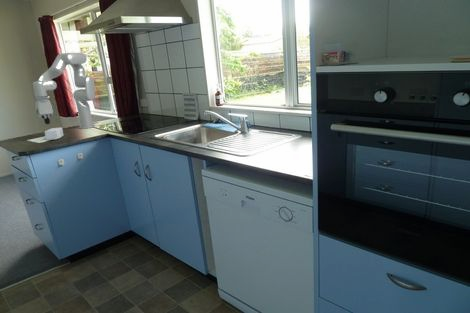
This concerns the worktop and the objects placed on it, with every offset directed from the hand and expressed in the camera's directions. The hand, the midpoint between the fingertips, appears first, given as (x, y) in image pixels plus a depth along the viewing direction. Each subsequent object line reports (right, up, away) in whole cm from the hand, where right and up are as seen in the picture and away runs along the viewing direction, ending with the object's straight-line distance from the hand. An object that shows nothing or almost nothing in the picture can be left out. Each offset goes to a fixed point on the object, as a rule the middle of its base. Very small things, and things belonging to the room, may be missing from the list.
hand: (47, 123), depth 248 cm
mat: (-2, -12, -1) cm, 12 cm away
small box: (+5, -6, +4) cm, 9 cm away
